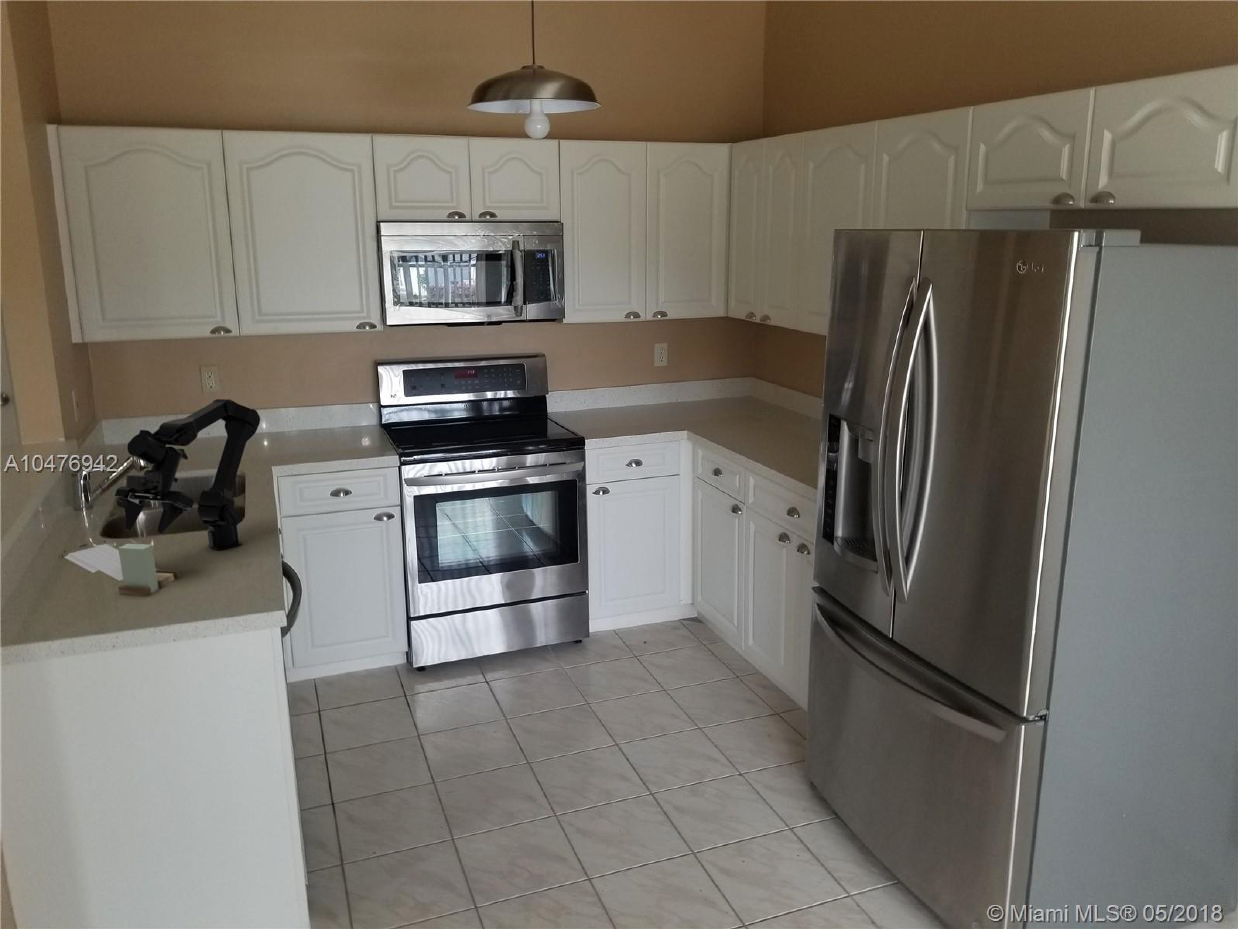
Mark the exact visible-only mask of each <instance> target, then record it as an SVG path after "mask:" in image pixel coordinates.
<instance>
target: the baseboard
mask: <svg viewBox="0 0 1238 929" xmlns="http://www.w3.org/2000/svg"><path fill="white" fill-rule="evenodd" d="M101 543H102V541H101V542H99V544H101ZM103 543H105V544H101V545H97V544H98V542H97V543H95V545H97V546H94V547H89V546H90V545H89V544H86V543H85V544H82V545H79V546H78V548H79V549H80V548H85V547H89V548H86V549H82V550H77V551H74V552H69V553H68V554H67V555H66V556H64V555H63V554H62V553H61V555H58V557H59V558H63V559H65V560H67V561H69V562H71V563H73V564H75V565H77V566H78V567H81V568H82V569H84V570H86V571H87V572H90V573H91V574H94V573H97V572H98V571H100V572H102V573H104V574H106V575H108V576H109V577H111V578H113V579H116V580H118V581H119V582H120V581H123V575H122V569H121V562H120V556H119V550H118V548H115V547H113V546H111V545H109V544H108V543H107V544H106V540H104V541H103ZM93 545H94V543H93V544H91V546H93ZM66 552H67V550H64V551H63V553H64V554H65V553H66ZM155 568H156V567H155ZM156 569H158V570H160V569H159V568H156Z"/></svg>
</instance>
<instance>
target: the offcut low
mask: <svg viewBox="0 0 1238 929" xmlns="http://www.w3.org/2000/svg"><path fill="white" fill-rule="evenodd" d="M173 580H174V577H172V578H170V579H169V580H167V581H165V582H164V585H166V584H168V583H169V582H171V581H173Z"/></svg>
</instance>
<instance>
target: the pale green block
mask: <svg viewBox="0 0 1238 929" xmlns="http://www.w3.org/2000/svg"><path fill="white" fill-rule="evenodd" d="M117 550H119V556H120V562H121V569H122V575H123V580H122V581H123V586H137V587H151V593H153V592H154V591H156V590H158V589H159V588H158V581H157V575H156V562H155V555H154V549H153V545H152V544H143V543H142V544H140V543H139V544H138V543H126V544H124V545H122V546H120V547H118V548H117Z"/></svg>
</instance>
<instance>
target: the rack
mask: <svg viewBox="0 0 1238 929" xmlns="http://www.w3.org/2000/svg"><path fill="white" fill-rule="evenodd" d="M158 569H159V568H157V569H156V573H172V574H173V576H174V580H173V581H171V582H169V583H168V584H166V585H164V582H163V580H157V581H158V588H159V589H158V590H156V591H154V592H153V593H151V587H137V586H124V585H120V586H118V588H117V590H118V594H119V595H121V596H137V597H151V596H152V595H154V594H156V593H157V592H159V591H160V590H162V589H163V588H165V587H168V586H169V585H170V584H172V583H174V582H176V581H177V580H179V579H181V575H180V570H177V569H176V570H175V569H173V570H172V569H159V570H158Z"/></svg>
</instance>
